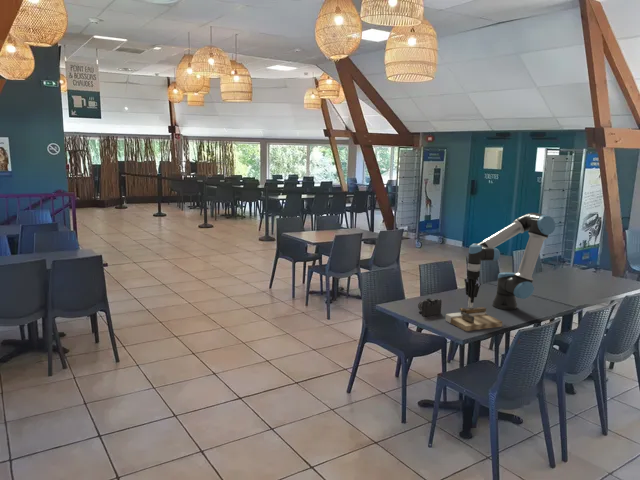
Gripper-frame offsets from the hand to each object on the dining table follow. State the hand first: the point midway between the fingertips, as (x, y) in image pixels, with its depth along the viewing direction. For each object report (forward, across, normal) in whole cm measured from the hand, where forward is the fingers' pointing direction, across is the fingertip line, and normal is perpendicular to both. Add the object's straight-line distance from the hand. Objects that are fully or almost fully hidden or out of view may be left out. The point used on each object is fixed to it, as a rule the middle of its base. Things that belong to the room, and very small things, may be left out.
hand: (470, 307), depth 314 cm
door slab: (+5, +16, -8) cm, 18 cm away
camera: (+6, -11, -23) cm, 26 cm away
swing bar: (+1, +6, -3) cm, 7 cm away
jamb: (+5, +6, -8) cm, 11 cm away
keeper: (+2, +16, -14) cm, 21 cm away
